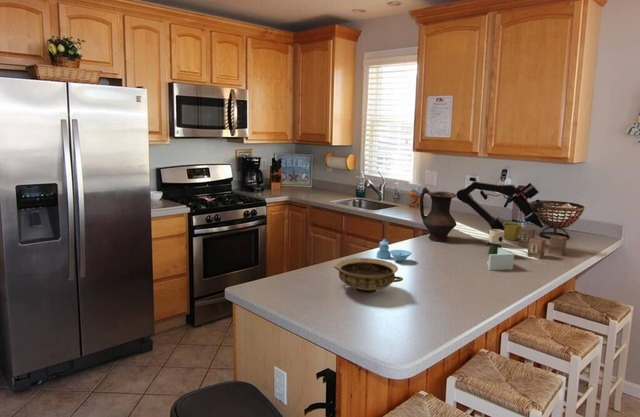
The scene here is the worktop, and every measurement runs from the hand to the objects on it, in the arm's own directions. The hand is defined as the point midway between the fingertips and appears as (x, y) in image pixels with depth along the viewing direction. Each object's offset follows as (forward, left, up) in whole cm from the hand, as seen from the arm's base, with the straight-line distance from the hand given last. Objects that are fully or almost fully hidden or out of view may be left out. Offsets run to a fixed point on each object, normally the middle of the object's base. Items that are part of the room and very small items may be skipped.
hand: (542, 227), depth 257 cm
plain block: (+3, -8, -13) cm, 15 cm away
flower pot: (+15, +22, -13) cm, 30 cm away
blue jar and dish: (-74, +41, -13) cm, 86 cm away
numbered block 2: (-13, -3, -13) cm, 18 cm away
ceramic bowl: (-118, +22, -13) cm, 121 cm away
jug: (-20, +50, -13) cm, 56 cm away
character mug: (-27, +12, -13) cm, 33 cm away
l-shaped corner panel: (-46, +4, -14) cm, 48 cm away
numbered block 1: (+10, +11, -13) cm, 20 cm away
